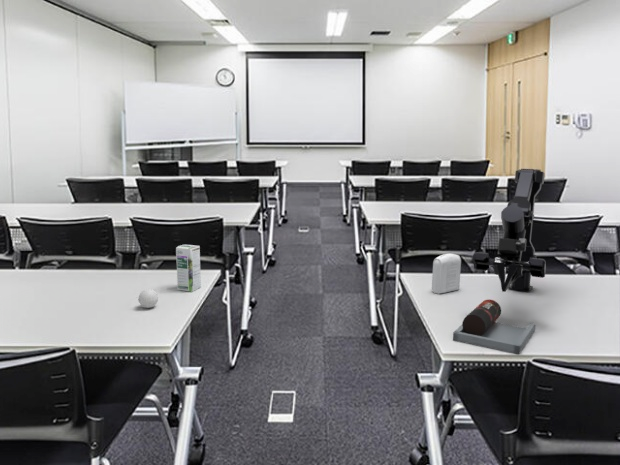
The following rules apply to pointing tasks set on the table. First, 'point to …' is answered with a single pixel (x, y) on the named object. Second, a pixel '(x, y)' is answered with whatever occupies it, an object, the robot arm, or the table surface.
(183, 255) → the syrup box
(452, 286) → the photo printer
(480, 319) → the deodorant
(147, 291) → the white bumpy ovoid
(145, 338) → the table surface
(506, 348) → the tray
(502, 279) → the robot arm
